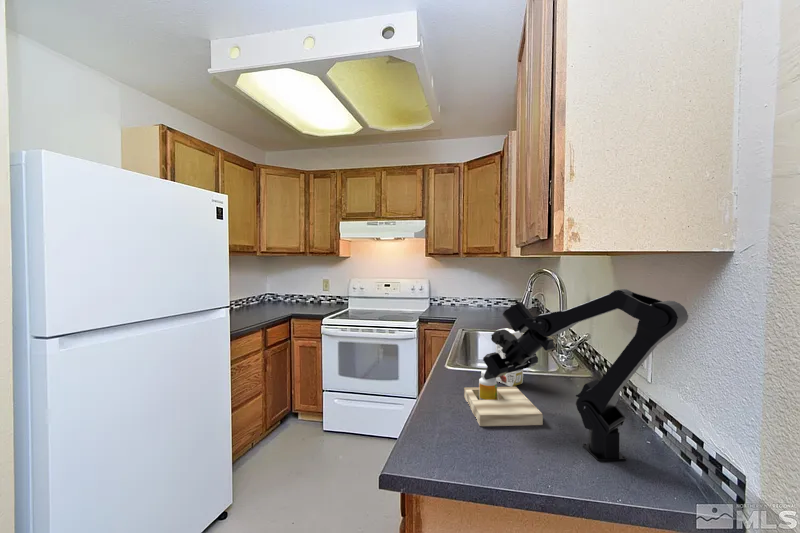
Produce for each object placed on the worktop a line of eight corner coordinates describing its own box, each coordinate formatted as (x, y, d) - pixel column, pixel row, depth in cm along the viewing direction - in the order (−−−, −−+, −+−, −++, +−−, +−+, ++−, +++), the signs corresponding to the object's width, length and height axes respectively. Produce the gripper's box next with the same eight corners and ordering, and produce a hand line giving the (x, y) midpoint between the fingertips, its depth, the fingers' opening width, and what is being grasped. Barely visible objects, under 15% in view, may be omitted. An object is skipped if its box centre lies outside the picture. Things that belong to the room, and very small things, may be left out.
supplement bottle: (498, 407, 104) (498, 375, 104) (480, 406, 105) (480, 374, 104) (495, 400, 109) (495, 369, 109) (478, 399, 110) (478, 369, 110)
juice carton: (512, 388, 120) (512, 333, 119) (492, 381, 127) (492, 329, 127) (525, 383, 124) (526, 331, 124) (506, 377, 131) (506, 327, 131)
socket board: (542, 424, 93) (542, 413, 93) (480, 426, 93) (480, 415, 93) (515, 395, 113) (515, 386, 113) (464, 396, 113) (464, 387, 113)
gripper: (528, 318, 105) (499, 347, 115) (488, 325, 95) (459, 357, 104) (553, 349, 99) (520, 377, 108) (512, 361, 88) (479, 391, 97)
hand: (495, 375), depth 105 cm, fingers open, 9 cm apart
